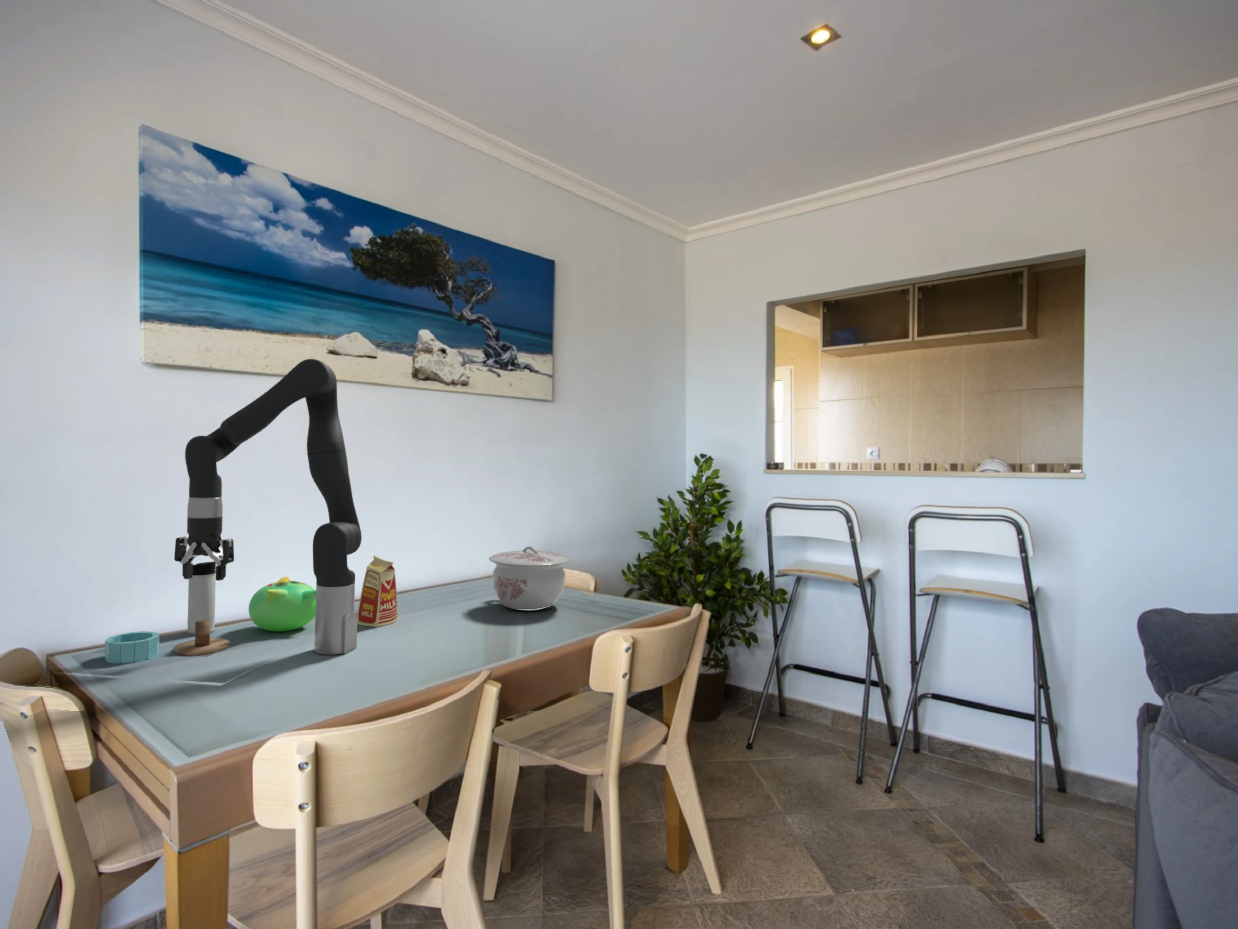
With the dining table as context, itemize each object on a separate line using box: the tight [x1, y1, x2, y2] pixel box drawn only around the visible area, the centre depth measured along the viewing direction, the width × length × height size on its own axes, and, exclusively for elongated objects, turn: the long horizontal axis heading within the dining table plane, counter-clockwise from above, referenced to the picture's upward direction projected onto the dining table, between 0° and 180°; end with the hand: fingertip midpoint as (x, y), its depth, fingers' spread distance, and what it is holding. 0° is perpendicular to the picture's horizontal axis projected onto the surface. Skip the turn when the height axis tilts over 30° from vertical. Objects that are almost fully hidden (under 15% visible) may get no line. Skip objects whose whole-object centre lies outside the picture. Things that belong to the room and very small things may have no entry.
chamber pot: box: [488, 545, 571, 610], centre depth 226 cm, size 28×28×21 cm
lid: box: [173, 620, 231, 657], centre depth 168 cm, size 12×12×7 cm
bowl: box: [104, 630, 160, 664], centre depth 160 cm, size 10×10×5 cm
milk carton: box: [357, 555, 399, 628], centre depth 200 cm, size 9×9×20 cm
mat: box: [164, 642, 238, 657], centre depth 168 cm, size 11×11×1 cm
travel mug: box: [187, 561, 217, 636], centre depth 181 cm, size 6×7×20 cm
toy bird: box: [248, 576, 316, 633], centre depth 188 cm, size 18×17×15 cm
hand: (203, 579), depth 167 cm, fingers open, 8 cm apart
